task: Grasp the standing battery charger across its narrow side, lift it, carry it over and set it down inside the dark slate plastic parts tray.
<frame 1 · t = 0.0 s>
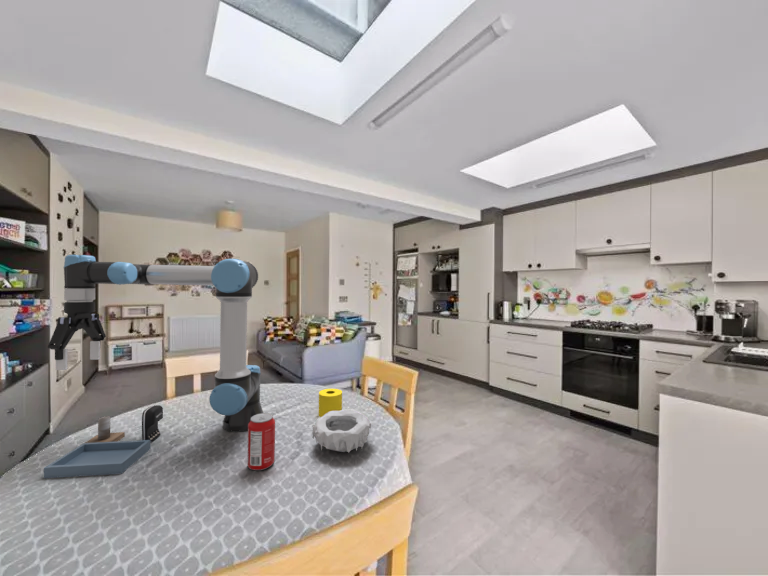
hand: (79, 364, 105), 28 cm above the table, fingers open, 13 cm apart
soda can: (261, 465, 97), on the table
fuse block: (104, 442, 109), on the table
battery charger: (153, 439, 112), on the table
parts tray: (101, 462, 97), on the table
tape roll: (330, 414, 136), on the table
bowl: (342, 447, 109), on the table
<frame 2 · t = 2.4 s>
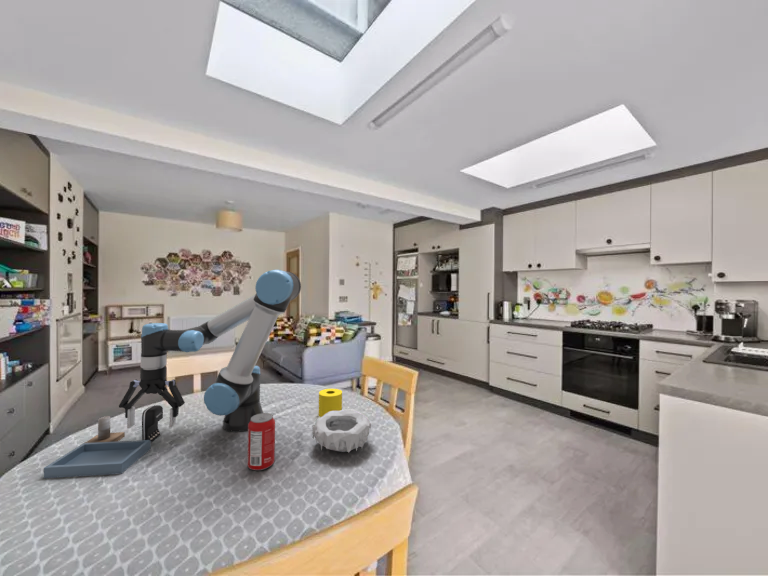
hand: (151, 426, 112), 5 cm above the table, fingers open, 13 cm apart
nothing on the table moved.
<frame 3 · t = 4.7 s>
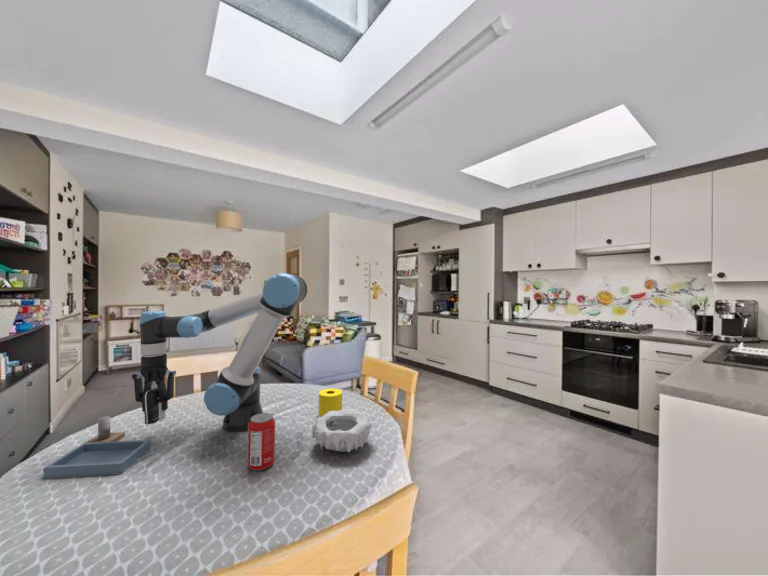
hand: (155, 419, 112), 7 cm above the table, fingers closed on battery charger, 4 cm apart
battery charger: (156, 421, 112), point 6 cm above the table, touching gripper
everything else where it was.
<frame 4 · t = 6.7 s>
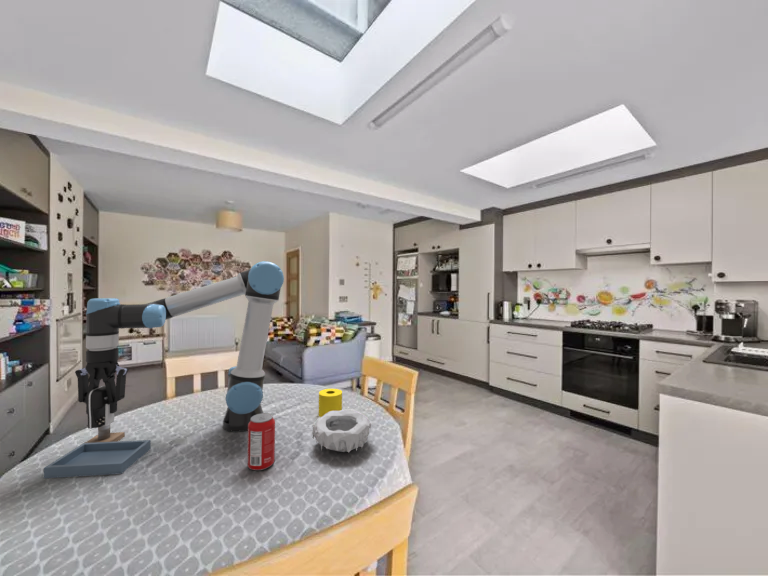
hand: (101, 423, 97), 12 cm above the table, fingers closed on battery charger, 4 cm apart
battery charger: (102, 424, 97), point 12 cm above the table, touching gripper
everything else where it was.
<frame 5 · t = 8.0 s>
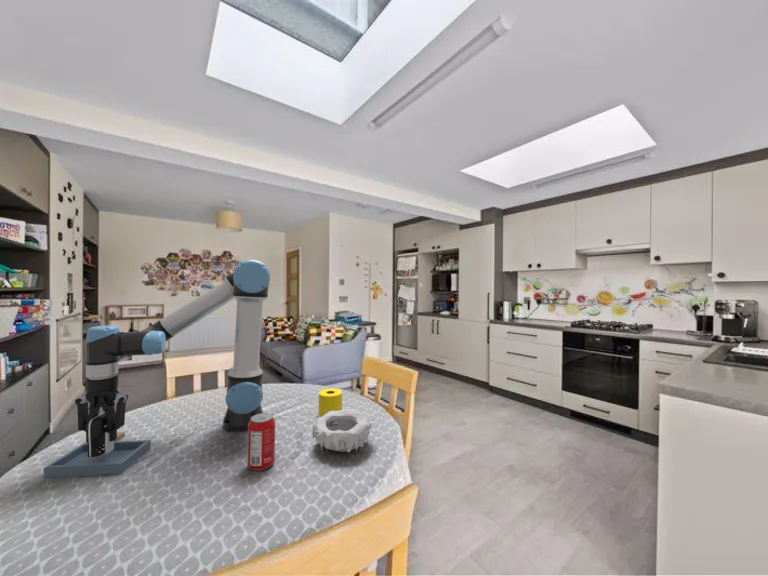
hand: (101, 451, 97), 3 cm above the table, fingers closed on battery charger, 4 cm apart
battery charger: (102, 452, 97), point 3 cm above the table, touching gripper
everything else where it was.
when the fingers open (2 cm above the table, at t = 8.9 s): battery charger stays where it is, resting on parts tray.
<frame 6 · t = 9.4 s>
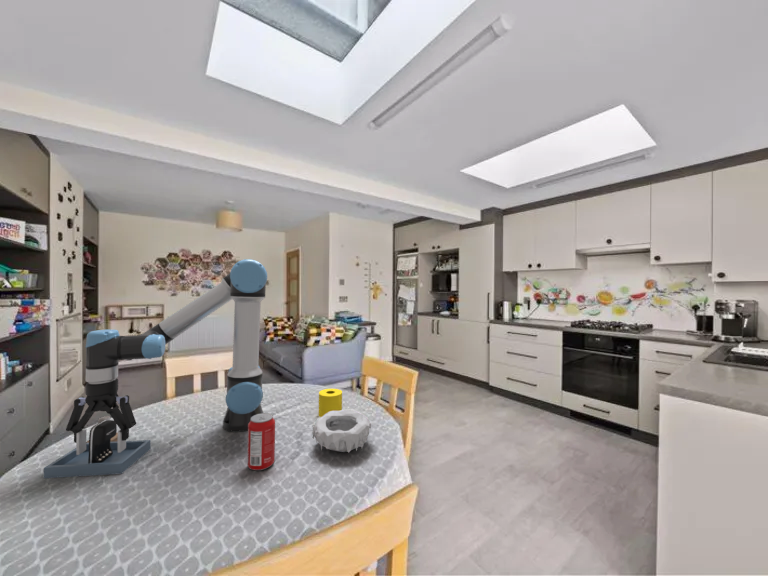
hand: (101, 451, 97), 3 cm above the table, fingers open, 10 cm apart
battery charger: (102, 460, 97), point 1 cm above the table, touching parts tray
everything else where it was.
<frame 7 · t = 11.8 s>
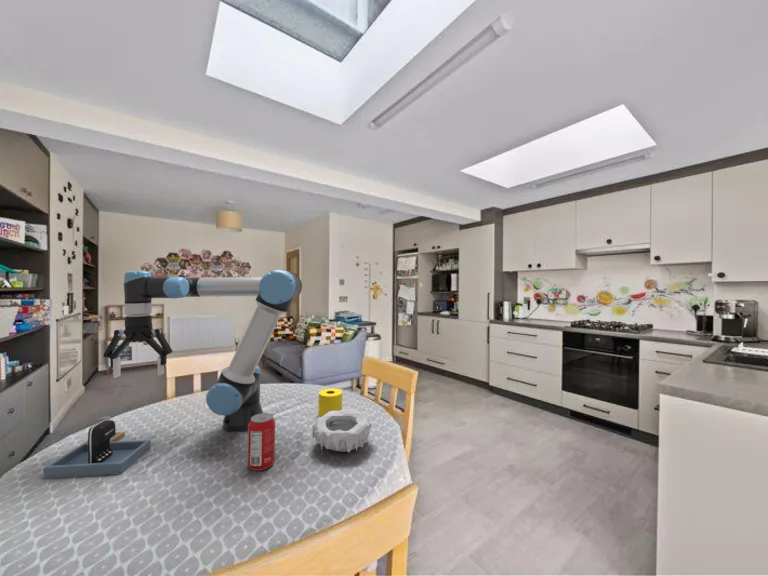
hand: (139, 375, 110), 23 cm above the table, fingers open, 13 cm apart
nothing on the table moved.
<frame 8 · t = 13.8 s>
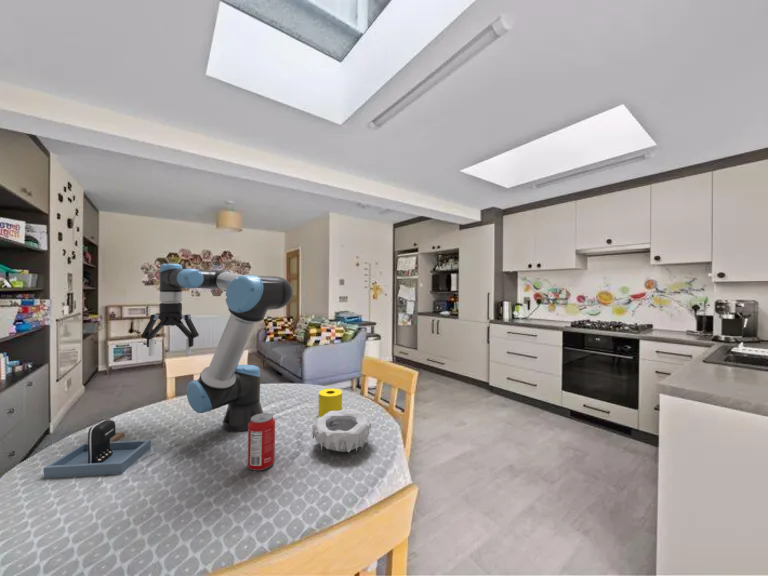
hand: (170, 355, 126), 27 cm above the table, fingers open, 13 cm apart
nothing on the table moved.
at the end: battery charger inside the target area on the parts tray (0.3 cm from its centre), point 0.6 cm above the parts tray's base; the gripper is holding nothing; battery charger moved 15.5 cm from its start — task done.
